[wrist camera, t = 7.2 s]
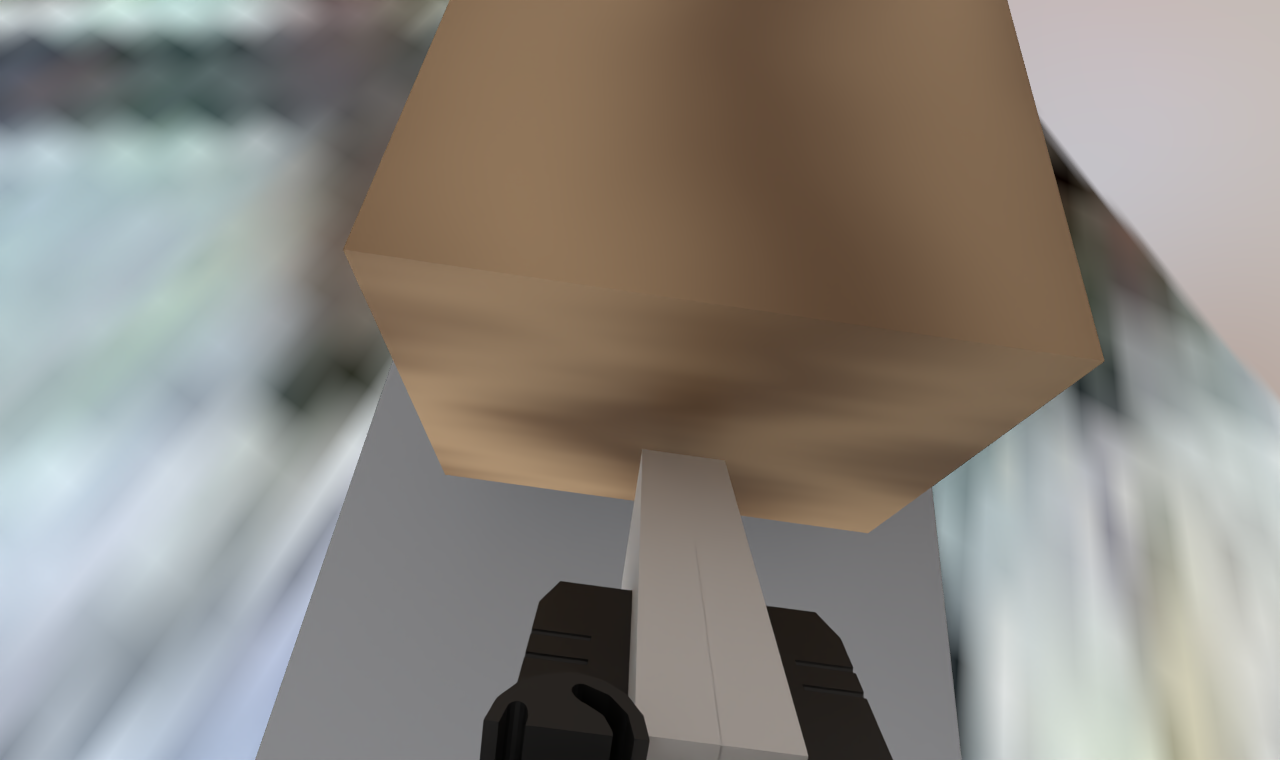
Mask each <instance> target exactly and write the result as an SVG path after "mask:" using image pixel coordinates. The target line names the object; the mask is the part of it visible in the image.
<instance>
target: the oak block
mask: <svg viewBox="0 0 1280 760" xmlns="http://www.w3.org/2000/svg"><path fill="white" fill-rule="evenodd" d="M343 251H344V253H345V255H346V257H347V259H348V262H349V264H350V266H351V268H352V270H353V273H354V275H355V277H356V279H357V281H358V284H359V286H360V288H361V290H362V292H363V295H364V297H365V299H366V301H367V303H368V306H369V308H370V310H371V312H372V315H373V317H374V319H375V321H376V323H377V326H378V328H379V330H380V332H381V334H382V337H383V339H384V341H385V343H386V345H387V348H388V350H389V352H390V354H391V356H392V359H393V361H394V363H395V365H396V367H397V370H398V372H399V374H400V376H401V378H402V381H403V383H404V385H405V387H406V389H407V392H408V394H409V396H410V398H411V400H412V403H413V405H414V407H415V409H416V412H417V414H418V416H419V418H420V420H421V423H422V425H423V427H424V429H425V431H426V434H427V436H428V438H429V440H430V442H431V445H432V447H433V449H434V451H435V453H436V456H437V458H438V460H439V462H440V464H441V467H442V469H443V471H444V473H445V475H451V476H458V477H466V478H473V479H480V480H487V481H494V482H502V483H509V484H516V485H523V486H531V487H538V488H545V489H552V490H559V491H567V492H574V493H581V494H588V495H595V496H603V497H610V498H617V499H624V500H632V501H634V500H635V494H636V487H637V481H638V474H639V468H640V461H641V455H642V449H645V450H652V451H659V452H667V453H674V454H681V455H688V456H696V457H703V458H710V459H717V460H724V461H725V463H726V466H727V470H728V474H729V477H730V481H731V484H732V488H733V491H734V495H735V498H736V502H737V505H738V509H739V512H740V516H747V517H754V518H761V519H769V520H776V521H783V522H790V523H797V524H805V525H812V526H819V527H826V528H834V529H841V530H848V531H855V532H862V533H869V532H871V531H872V530H873V529H875V528H876V527H877V526H879V525H880V524H882V523H883V522H884V521H886V520H887V519H888V518H890V517H891V516H893V515H894V514H895V513H897V512H898V511H899V510H901V509H902V508H904V507H905V506H906V505H908V504H909V503H910V502H912V501H913V500H915V499H916V498H917V497H919V496H920V495H921V494H923V493H924V492H926V491H927V490H928V489H930V488H931V487H932V486H934V485H935V484H937V483H938V482H939V481H941V480H942V479H943V478H945V477H946V476H947V475H949V474H950V473H952V472H953V471H954V470H956V469H957V468H958V467H960V466H961V465H963V464H964V463H965V462H967V461H968V460H969V459H971V458H972V457H974V456H975V455H976V454H978V453H979V452H980V451H982V450H983V449H985V448H986V447H987V446H989V445H990V444H991V443H993V442H994V441H996V440H997V439H998V438H1000V437H1001V436H1002V435H1004V434H1005V433H1007V432H1008V431H1009V430H1011V429H1012V428H1013V427H1015V426H1016V425H1017V424H1019V423H1020V422H1022V421H1023V420H1024V419H1026V418H1027V417H1028V416H1030V415H1031V414H1033V413H1034V412H1035V411H1037V410H1038V409H1039V408H1041V407H1042V406H1044V405H1045V404H1046V403H1048V402H1049V401H1050V400H1052V399H1053V398H1055V397H1056V396H1057V395H1059V394H1060V393H1061V392H1063V391H1064V390H1066V389H1067V388H1068V387H1070V386H1071V385H1072V384H1074V383H1075V382H1076V381H1078V380H1079V379H1081V378H1082V377H1083V376H1085V375H1086V374H1087V373H1089V372H1090V371H1092V370H1093V369H1094V368H1096V367H1097V366H1098V365H1100V364H1101V363H1103V362H1104V357H1103V354H1102V350H1101V346H1100V343H1099V339H1098V335H1097V331H1096V328H1095V324H1094V320H1093V317H1092V313H1091V309H1090V306H1089V302H1088V298H1087V294H1086V291H1085V287H1084V283H1083V280H1082V276H1081V272H1080V268H1079V265H1078V261H1077V257H1076V254H1075V250H1074V246H1073V242H1072V239H1071V235H1070V231H1069V228H1068V224H1067V220H1066V217H1065V213H1064V209H1063V205H1062V202H1061V198H1060V194H1059V191H1058V187H1057V183H1056V179H1055V176H1054V172H1053V168H1052V165H1051V161H1050V157H1049V153H1048V150H1047V146H1046V142H1045V139H1044V135H1043V131H1042V127H1041V124H1040V120H1039V116H1038V113H1037V109H1036V105H1035V102H1034V98H1033V94H1032V91H1031V87H1030V83H1029V79H1028V76H1027V72H1026V68H1025V64H1024V61H1023V57H1022V53H1021V50H1020V46H1019V42H1018V39H1017V35H1016V31H1015V27H1014V24H1013V20H1012V17H1011V13H1010V9H1009V5H1008V1H1007V0H450V1H449V4H448V6H447V8H446V11H445V13H444V15H443V18H442V20H441V22H440V25H439V27H438V29H437V32H436V34H435V36H434V39H433V41H432V43H431V46H430V48H429V50H428V53H427V55H426V57H425V60H424V62H423V64H422V67H421V69H420V71H419V74H418V76H417V78H416V81H415V83H414V85H413V88H412V90H411V92H410V95H409V97H408V99H407V102H406V104H405V106H404V109H403V111H402V113H401V116H400V118H399V120H398V123H397V125H396V127H395V130H394V132H393V134H392V137H391V139H390V141H389V144H388V146H387V148H386V151H385V153H384V155H383V158H382V160H381V162H380V165H379V167H378V169H377V172H376V174H375V176H374V179H373V181H372V183H371V186H370V188H369V190H368V193H367V195H366V197H365V200H364V202H363V204H362V207H361V209H360V211H359V214H358V216H357V218H356V221H355V223H354V225H353V228H352V230H351V232H350V235H349V237H348V239H347V242H346V244H345V246H344V249H343Z"/></svg>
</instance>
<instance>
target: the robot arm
mask: <svg viewBox="0 0 1280 760" xmlns="http://www.w3.org/2000/svg"><path fill="white" fill-rule="evenodd" d="M480 760H893V758H892V756H891V754H890V752H889V749H888V747H887V745H886V742H885V740H884V738H883V735H882V733H881V731H880V728H879V726H878V724H877V721H876V719H875V717H874V714H873V712H872V710H871V707H870V705H869V703H868V700H867V699H866V698H864V691H863V689H862V686H861V684H860V682H859V680H858V677H857V675H856V673H853V666H852V663H851V661H850V659H849V656H848V654H847V652H846V649H845V647H844V645H843V642H842V640H841V638H840V637H839V636H838V635H837V634H836V633H835V632H834V631H833V630H832V629H831V628H830V627H829V626H828V625H827V624H826V623H825V621H824V620H823V619H822V618H821V617H820V616H819V615H818V614H817V613H816V612H810V611H803V610H795V609H788V608H780V607H773V606H766V604H765V601H764V597H763V594H762V590H761V587H760V583H759V580H758V576H757V573H756V569H755V566H754V562H753V558H752V555H751V551H750V548H749V544H748V541H747V537H746V534H745V530H744V527H743V523H742V520H741V516H740V512H739V509H738V505H737V502H736V498H735V495H734V491H733V488H732V484H731V481H730V477H729V474H728V470H727V466H726V463H725V461H724V460H717V459H710V458H703V457H696V456H688V455H681V454H674V453H667V452H659V451H652V450H645V449H642V455H641V461H640V468H639V474H638V481H637V487H636V494H635V500H634V507H633V513H632V520H631V526H630V533H629V539H628V546H627V552H626V559H625V565H624V572H623V578H622V589H617V588H609V587H602V586H594V585H587V584H579V583H572V582H564V581H560V582H559V583H558V584H557V585H556V586H555V587H554V588H552V589H551V590H550V591H549V592H548V593H547V594H546V595H545V596H544V597H543V598H542V599H541V600H540V601H539V604H538V607H537V611H536V615H535V618H534V622H533V626H532V631H531V634H530V637H529V641H528V644H527V648H526V652H525V657H524V659H523V663H522V666H521V670H520V674H519V678H518V681H517V683H516V684H514V685H513V686H512V687H510V688H509V689H507V690H506V691H505V692H503V693H502V694H501V695H499V696H498V697H497V698H496V699H495V701H494V703H493V704H492V706H491V708H490V710H489V711H488V713H487V715H486V716H485V718H484V720H483V730H482V740H481V751H480Z"/></svg>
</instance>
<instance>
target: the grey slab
mask: <svg viewBox="0 0 1280 760" xmlns="http://www.w3.org/2000/svg"><path fill="white" fill-rule="evenodd" d="M633 507H634V501H632V500H624V499H617V498H610V497H603V496H595V495H588V494H581V493H574V492H567V491H559V490H552V489H545V488H538V487H531V486H523V485H516V484H509V483H502V482H494V481H487V480H480V479H473V478H466V477H458V476H451V475H445V473H444V471H443V469H442V467H441V464H440V462H439V460H438V458H437V456H436V453H435V451H434V449H433V447H432V445H431V442H430V440H429V438H428V436H427V434H426V431H425V429H424V427H423V425H422V423H421V420H420V418H419V416H418V414H417V412H416V409H415V407H414V405H413V403H412V400H411V398H410V396H409V394H408V392H407V389H406V387H405V385H404V383H403V381H402V378H401V376H400V374H399V372H398V370H397V367H396V365H395V363H394V361H392V364H391V367H390V370H389V373H388V376H387V379H386V382H385V384H384V387H383V390H382V393H381V396H380V399H379V402H378V405H377V408H376V411H375V413H374V416H373V419H372V422H371V425H370V428H369V431H368V434H367V437H366V440H365V442H364V445H363V448H362V451H361V454H360V457H359V460H358V463H357V466H356V469H355V472H354V474H353V477H352V480H351V483H350V486H349V489H348V492H347V495H346V498H345V501H344V503H343V506H342V509H341V512H340V515H339V518H338V521H337V524H336V527H335V530H334V532H333V535H332V538H331V541H330V544H329V547H328V550H327V553H326V556H325V559H324V561H323V564H322V567H321V570H320V573H319V576H318V579H317V582H316V585H315V588H314V591H313V593H312V596H311V599H310V602H309V605H308V608H307V611H306V614H305V617H304V620H303V622H302V625H301V628H300V631H299V634H298V637H297V640H296V643H295V646H294V649H293V651H292V654H291V657H290V660H289V663H288V666H287V669H286V672H285V675H284V678H283V680H282V683H281V686H280V689H279V692H278V695H277V698H276V701H275V704H274V707H273V710H272V712H271V715H270V718H269V721H268V724H267V727H266V730H265V733H264V736H263V739H262V741H261V744H260V747H259V750H258V753H257V756H256V759H255V760H480V751H481V740H482V730H483V720H484V718H485V716H486V715H487V713H488V711H489V710H490V708H491V706H492V704H493V703H494V701H495V699H496V698H497V697H498V696H499V695H501V694H502V693H503V692H505V691H506V690H507V689H509V688H510V687H512V686H513V685H514V684H516V683H517V681H518V678H519V674H520V670H521V666H522V663H523V659H524V657H525V652H526V648H527V644H528V641H529V637H530V634H531V631H532V626H533V622H534V618H535V615H536V611H537V607H538V604H539V601H540V600H541V599H542V598H543V597H544V596H545V595H546V594H547V593H548V592H549V591H550V590H551V589H552V588H554V587H555V586H556V585H557V584H558V583H559V582H560V581H564V582H572V583H579V584H587V585H594V586H602V587H609V588H617V589H622V578H623V572H624V565H625V559H626V552H627V546H628V539H629V533H630V526H631V520H632V513H633ZM741 520H742V523H743V527H744V530H745V534H746V537H747V541H748V544H749V548H750V551H751V555H752V558H753V562H754V566H755V569H756V573H757V576H758V580H759V583H760V587H761V590H762V594H763V597H764V601H765V604H766V606H773V607H780V608H788V609H795V610H803V611H810V612H816V613H817V614H818V615H819V616H820V617H821V618H822V619H823V620H824V621H825V623H826V624H827V625H828V626H829V627H830V628H831V629H832V630H833V631H834V632H835V633H836V634H837V635H838V636H839V637H840V638H841V640H842V642H843V645H844V647H845V649H846V652H847V654H848V656H849V659H850V661H851V663H852V666H853V673H856V675H857V677H858V680H859V682H860V684H861V686H862V689H863V691H864V698H866V699H867V700H868V703H869V705H870V707H871V710H872V712H873V714H874V717H875V719H876V721H877V724H878V726H879V728H880V731H881V733H882V735H883V738H884V740H885V742H886V745H887V747H888V749H889V752H890V754H891V756H892V758H893V760H962V759H961V750H960V741H959V732H958V722H957V713H956V704H955V695H954V686H953V677H952V667H951V658H950V649H949V640H948V631H947V621H946V612H945V603H944V594H943V585H942V576H941V566H940V557H939V548H938V539H937V530H936V520H935V511H934V502H933V493H932V487H931V488H930V489H928V490H927V491H926V492H924V493H923V494H921V495H920V496H919V497H917V498H916V499H915V500H913V501H912V502H910V503H909V504H908V505H906V506H905V507H904V508H902V509H901V510H899V511H898V512H897V513H895V514H894V515H893V516H891V517H890V518H888V519H887V520H886V521H884V522H883V523H882V524H880V525H879V526H877V527H876V528H875V529H873V530H872V531H871V532H869V533H862V532H855V531H848V530H841V529H834V528H826V527H819V526H812V525H805V524H797V523H790V522H783V521H776V520H769V519H761V518H754V517H747V516H741Z"/></svg>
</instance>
